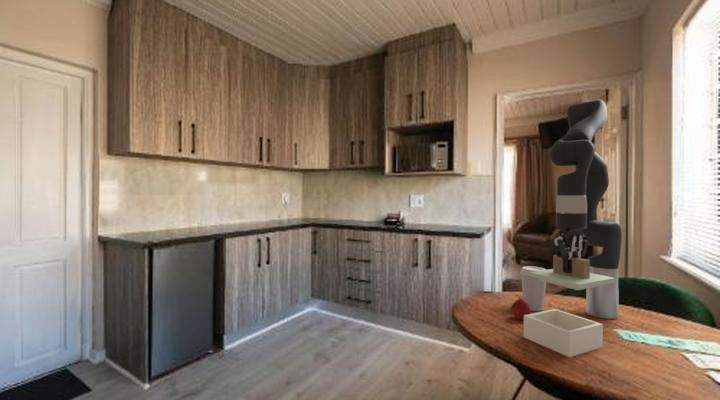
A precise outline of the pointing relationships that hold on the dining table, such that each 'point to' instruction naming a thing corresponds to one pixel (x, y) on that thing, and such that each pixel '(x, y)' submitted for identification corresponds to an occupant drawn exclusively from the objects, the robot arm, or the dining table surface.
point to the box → (563, 332)
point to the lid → (572, 275)
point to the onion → (520, 308)
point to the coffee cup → (533, 288)
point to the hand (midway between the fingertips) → (570, 271)
